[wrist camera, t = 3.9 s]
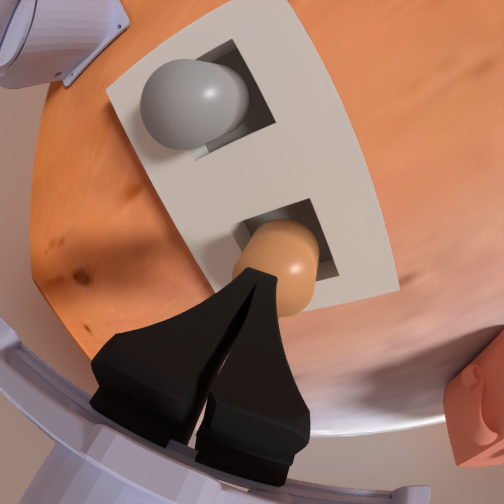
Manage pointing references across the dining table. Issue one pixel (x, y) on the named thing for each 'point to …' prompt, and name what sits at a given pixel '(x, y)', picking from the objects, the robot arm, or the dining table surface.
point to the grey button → (192, 103)
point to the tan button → (284, 262)
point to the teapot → (478, 409)
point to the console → (266, 154)
